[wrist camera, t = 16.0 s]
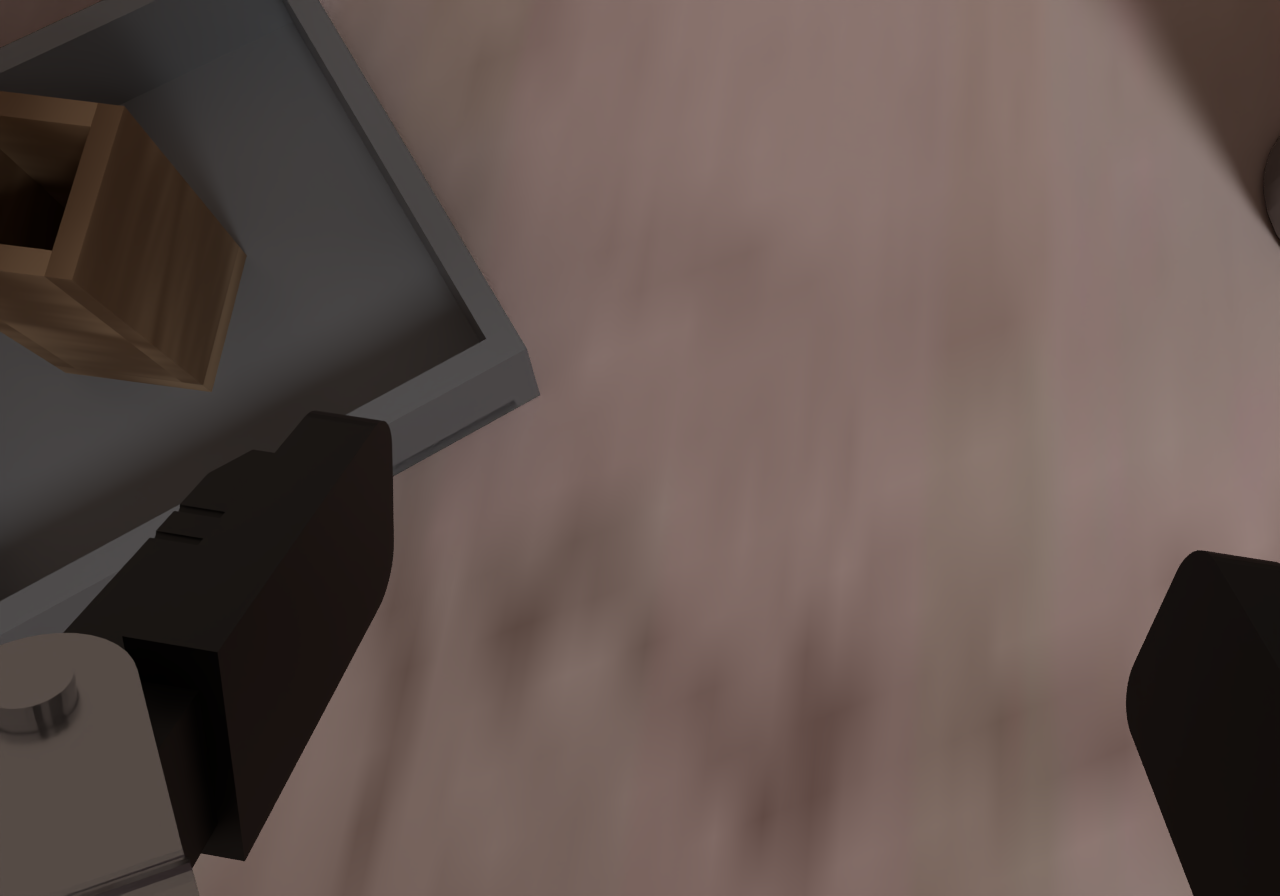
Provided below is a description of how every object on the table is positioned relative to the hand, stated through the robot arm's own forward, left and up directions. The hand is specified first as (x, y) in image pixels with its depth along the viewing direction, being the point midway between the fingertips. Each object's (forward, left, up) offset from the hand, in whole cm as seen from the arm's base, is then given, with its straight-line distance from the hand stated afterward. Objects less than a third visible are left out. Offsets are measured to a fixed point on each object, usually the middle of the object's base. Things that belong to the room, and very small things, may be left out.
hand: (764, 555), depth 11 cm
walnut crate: (+10, -22, -26) cm, 36 cm away
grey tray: (+10, -22, -27) cm, 36 cm away
